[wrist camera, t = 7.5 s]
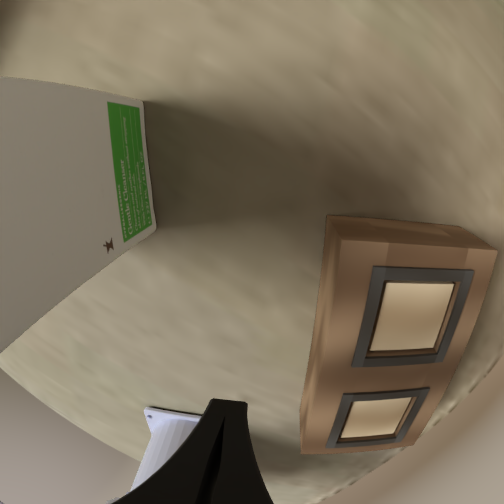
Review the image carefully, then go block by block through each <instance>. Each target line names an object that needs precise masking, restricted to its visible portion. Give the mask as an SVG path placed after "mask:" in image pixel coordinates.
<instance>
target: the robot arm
mask: <svg viewBox="0 0 504 504" xmlns="http://www.w3.org/2000/svg"><path fill="white" fill-rule="evenodd" d="M247 407H248V404H247V403H246V402H242V401H232V400H223V399H214V398H213V399H211V400H210V402H209V404H208V406H207V408H206V410H205V412H204V413H203V415H202V416H197V415H190V414H184V413H178V412H172V411H166V410H161V409H156V408H151V407H146V408H145V409H144V413H145V416H146V419H147V422H148V425H149V428H150V431H151V434H152V436H151V439H150V441H149V444H148V446H147V449H146V451H145V454H144V457H143V459H142V462H141V464H140V467H139V469H138V472H137V475H136V477H135V480H134V482H133V485H132V488H131V490H130V492H127V493H126V495H125V496H123V497H122V498H114V499H112V500H108V501H107V502H106V504H274V503H273V501H272V500H271V497H270V495H269V493H268V491H267V489H266V486H265V484H264V482H263V479H262V477H261V474H260V471H259V468H258V465H257V462H256V459H255V456H254V452H253V448H252V444H251V439H250V435H249V429H248V421H247ZM0 504H3V503H2V502H1V501H0Z"/></svg>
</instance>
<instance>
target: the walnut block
mask: <svg viewBox="0 0 504 504" xmlns="http://www.w3.org/2000/svg"><path fill="white" fill-rule="evenodd" d="M497 252H498V250H496V249H495V248H493V247H491V246H490V245H488V244H487V243H485V242H484V241H482V240H480V239H479V238H477V237H476V236H474V235H472V234H471V233H469V232H467V231H466V230H464V229H462V228H461V227H459V226H451V225H442V224H432V223H422V222H411V221H400V220H388V219H376V218H363V217H349V216H334V215H327V220H326V231H325V241H324V251H323V260H322V269H321V278H320V286H319V294H318V302H317V309H316V316H315V323H314V330H313V337H312V343H311V350H310V356H309V362H308V368H307V373H306V379H305V385H304V390H303V396H302V401H301V406H300V440H301V454H335V453H352V452H364V451H374V450H383V449H391V448H398V447H405V446H411V445H414V443H415V442H416V440H417V439H418V437H419V436H420V434H421V433H422V431H423V429H424V428H425V426H426V424H427V423H428V421H429V419H430V418H431V416H432V414H433V413H434V411H435V409H436V407H437V405H438V404H439V402H440V400H441V398H442V396H443V394H444V393H445V391H446V389H447V387H448V385H449V383H450V381H451V379H452V377H453V375H454V373H455V371H456V368H457V366H458V364H459V362H460V360H461V357H462V355H463V353H464V351H465V348H466V346H467V344H468V341H469V339H470V336H471V334H472V331H473V329H474V326H475V323H476V321H477V318H478V315H479V312H480V310H481V307H482V304H483V301H484V298H485V295H486V292H487V288H488V285H489V282H490V278H491V275H492V271H493V268H494V264H495V260H496V256H497ZM384 280H406V281H451V282H452V283H453V284H454V286H453V289H452V293H451V296H450V300H449V303H448V306H447V309H446V312H445V316H444V319H443V322H442V324H441V327H440V330H439V333H438V336H437V339H436V341H435V344H434V347H433V348H421V349H403V350H376V351H370V349H369V347H368V345H369V342H370V338H371V334H372V330H373V326H374V322H375V318H376V314H377V310H378V305H379V301H380V296H381V292H382V287H383V282H384ZM409 397H412V398H411V400H410V402H409V404H408V406H407V408H406V410H405V412H404V414H403V416H402V418H401V420H400V422H399V424H398V425H397V427H396V429H395V431H394V433H392V434H383V435H373V436H361V437H345V438H340V432H341V429H342V426H343V424H344V421H345V418H346V415H347V413H348V410H349V407H350V404H351V402H357V401H375V400H388V399H400V398H409Z"/></svg>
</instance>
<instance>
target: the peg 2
mask: <svg viewBox="0 0 504 504" xmlns="http://www.w3.org/2000/svg"><path fill="white" fill-rule="evenodd" d="M411 398H412V397H409V398H400V399H388V400H375V401H357V402H351V404H350V407H349V410H348V413H347V415H346V418H345V421H344V424H343V426H342V429H341V432H340V438H345V437H361V436H373V435H383V434H392V433H394V431H395V429H396V427H397V425H398V424H399V422H400V420H401V418H402V416H403V414H404V412H405V410H406V408H407V406H408V404H409V402H410V400H411Z"/></svg>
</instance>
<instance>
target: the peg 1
mask: <svg viewBox="0 0 504 504" xmlns="http://www.w3.org/2000/svg"><path fill="white" fill-rule="evenodd" d="M453 286H454V284H453V283H452V282H451V281H406V280H384V282H383V287H382V292H381V296H380V301H379V305H378V310H377V314H376V318H375V322H374V326H373V330H372V334H371V338H370V342H369V345H368V347H369V349H370V351H376V350H403V349H421V348H433V347H434V344H435V341H436V339H437V336H438V333H439V330H440V327H441V324H442V322H443V319H444V316H445V312H446V309H447V306H448V303H449V300H450V296H451V293H452V289H453Z"/></svg>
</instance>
